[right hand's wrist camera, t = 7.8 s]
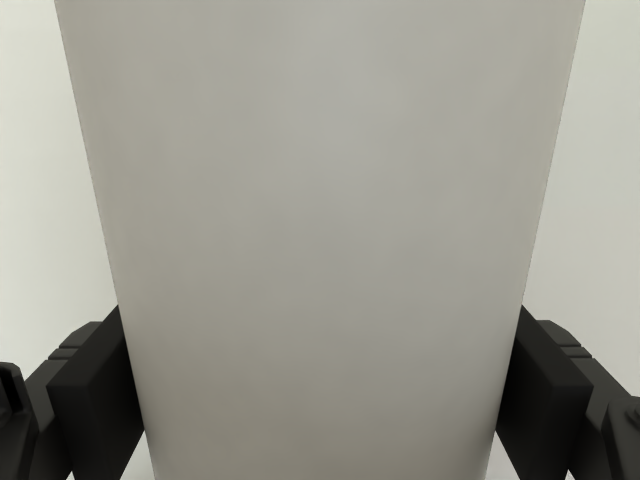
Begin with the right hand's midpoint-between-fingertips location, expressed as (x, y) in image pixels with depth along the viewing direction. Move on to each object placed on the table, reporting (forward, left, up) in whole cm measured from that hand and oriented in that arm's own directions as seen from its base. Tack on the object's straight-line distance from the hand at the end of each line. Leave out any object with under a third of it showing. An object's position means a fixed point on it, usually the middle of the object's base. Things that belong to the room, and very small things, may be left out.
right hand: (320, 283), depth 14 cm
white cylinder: (+5, +9, 0) cm, 10 cm away
